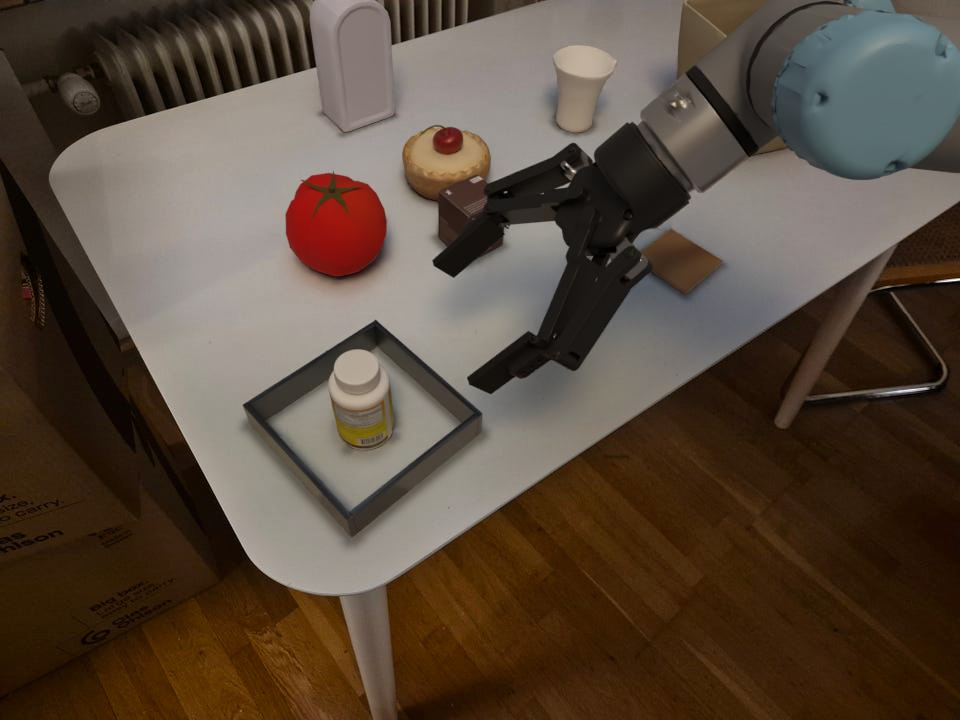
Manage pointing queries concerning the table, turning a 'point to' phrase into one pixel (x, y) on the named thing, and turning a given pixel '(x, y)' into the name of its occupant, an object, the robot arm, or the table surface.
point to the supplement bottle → (361, 400)
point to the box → (461, 208)
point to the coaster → (680, 261)
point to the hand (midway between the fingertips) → (459, 323)
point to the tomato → (335, 224)
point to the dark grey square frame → (321, 371)
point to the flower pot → (713, 35)
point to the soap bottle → (353, 61)
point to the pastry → (443, 159)
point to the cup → (580, 84)
